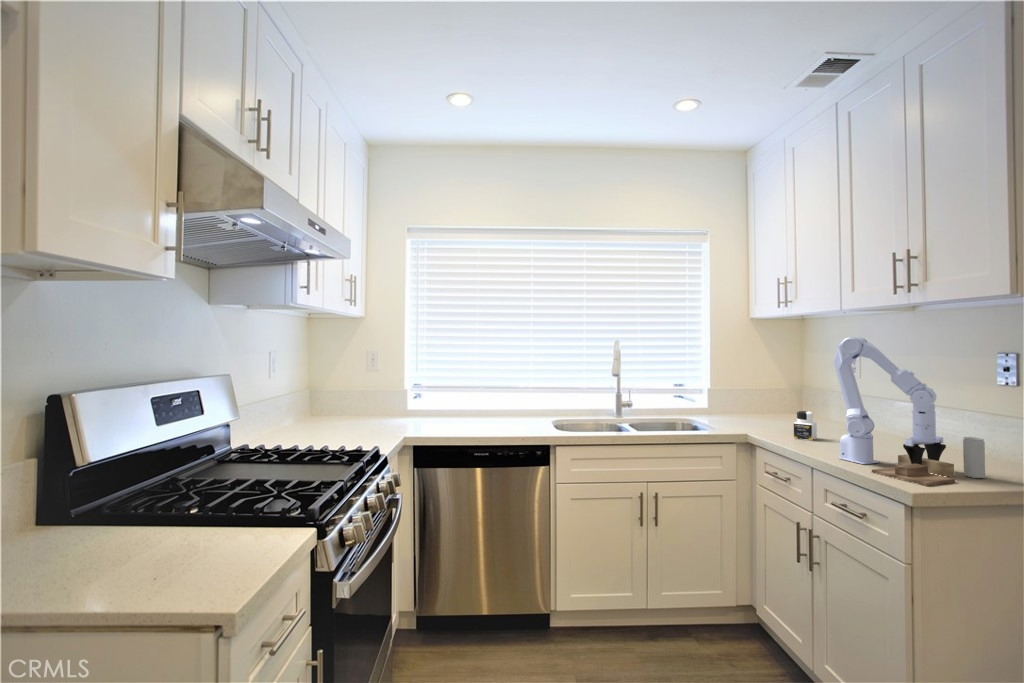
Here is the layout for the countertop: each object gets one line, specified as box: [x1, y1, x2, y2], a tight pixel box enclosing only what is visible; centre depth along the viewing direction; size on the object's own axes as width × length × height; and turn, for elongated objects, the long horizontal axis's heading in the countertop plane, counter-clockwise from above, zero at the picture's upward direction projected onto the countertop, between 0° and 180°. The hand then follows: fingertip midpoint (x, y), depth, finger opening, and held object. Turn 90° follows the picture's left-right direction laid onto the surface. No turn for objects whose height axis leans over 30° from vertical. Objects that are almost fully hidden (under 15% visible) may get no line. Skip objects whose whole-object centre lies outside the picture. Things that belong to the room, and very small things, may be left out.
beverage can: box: [962, 436, 986, 479], centre depth 149 cm, size 5×5×12 cm
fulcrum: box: [871, 464, 956, 487], centre depth 150 cm, size 16×12×4 cm
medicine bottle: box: [793, 410, 818, 441], centre depth 212 cm, size 7×7×12 cm
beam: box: [897, 454, 955, 477], centre depth 157 cm, size 14×4×4 cm, turn 16°
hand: (924, 466), depth 157 cm, fingers open, 7 cm apart
